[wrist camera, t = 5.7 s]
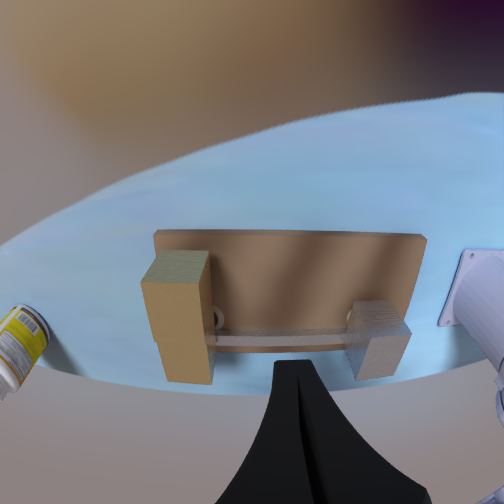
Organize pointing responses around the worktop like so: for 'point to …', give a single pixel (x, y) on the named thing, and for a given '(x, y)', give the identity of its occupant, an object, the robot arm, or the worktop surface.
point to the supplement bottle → (20, 346)
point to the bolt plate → (300, 277)
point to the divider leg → (182, 314)
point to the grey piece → (342, 338)
